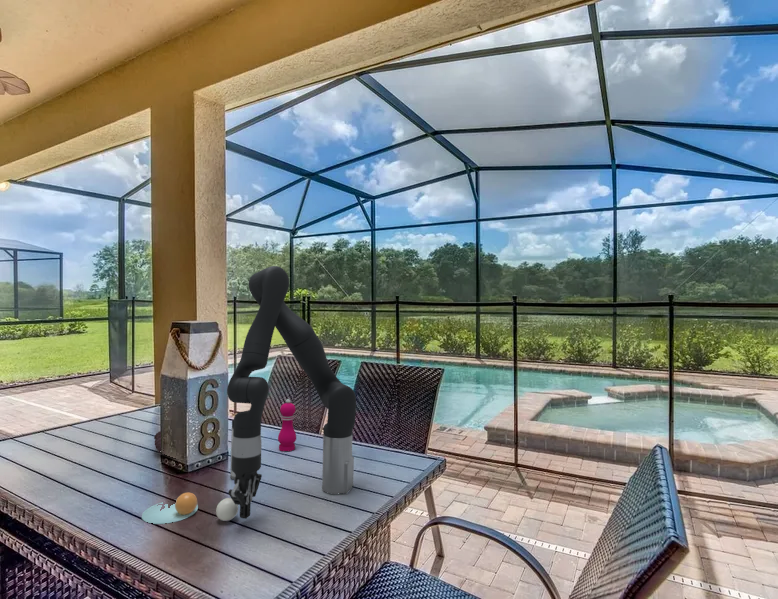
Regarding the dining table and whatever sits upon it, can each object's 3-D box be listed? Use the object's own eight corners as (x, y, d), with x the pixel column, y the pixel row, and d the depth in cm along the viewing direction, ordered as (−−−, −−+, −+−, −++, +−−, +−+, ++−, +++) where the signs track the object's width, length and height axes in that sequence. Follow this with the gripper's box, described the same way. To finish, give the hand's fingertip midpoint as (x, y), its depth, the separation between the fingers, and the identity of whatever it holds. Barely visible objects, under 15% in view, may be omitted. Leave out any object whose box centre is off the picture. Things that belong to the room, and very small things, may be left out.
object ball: (191, 485, 124) (181, 499, 125) (177, 493, 119) (166, 508, 119) (205, 498, 123) (194, 513, 124) (191, 507, 117) (180, 522, 118)
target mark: (208, 503, 127) (208, 502, 127) (174, 527, 114) (174, 526, 114) (167, 497, 131) (167, 497, 131) (129, 520, 117) (129, 519, 117)
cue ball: (229, 490, 121) (220, 507, 122) (217, 499, 116) (208, 517, 116) (245, 501, 120) (236, 519, 121) (234, 511, 115) (225, 529, 115)
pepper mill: (280, 453, 171) (281, 401, 171) (275, 447, 178) (276, 398, 178) (298, 450, 174) (299, 400, 175) (293, 445, 181) (294, 396, 181)
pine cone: (144, 452, 169) (145, 426, 169) (170, 445, 177) (171, 421, 177) (167, 463, 158) (167, 435, 158) (193, 455, 166) (194, 429, 166)
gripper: (245, 461, 110) (244, 531, 110) (271, 445, 123) (270, 507, 122) (219, 458, 111) (217, 527, 111) (247, 442, 124) (245, 504, 124)
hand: (245, 516), depth 117 cm, fingers closed
